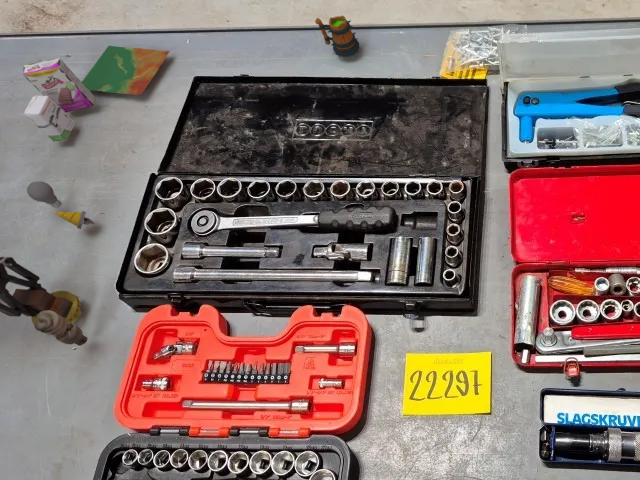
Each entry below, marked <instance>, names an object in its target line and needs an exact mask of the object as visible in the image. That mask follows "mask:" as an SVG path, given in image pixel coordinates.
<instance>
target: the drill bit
mask: <svg viewBox="0 0 640 480" xmlns="http://www.w3.org/2000/svg"><path fill="white" fill-rule="evenodd" d="M52 213H53V214H55V215H56V216H58V217H60V218H62V219H63V220H64V221H67V222H68V223H70V224H72V225H74V226H75V227H76V228H77V229H80V230H81V229H82V227H83V225H86V226H88V225H94V224H96V223H95V222H94V221H93V220H92V219H91V218H89V217H87V216H86V214H87V211H84V210H81V211H53V212H52Z"/></svg>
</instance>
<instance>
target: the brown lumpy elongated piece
mask: <svg viewBox="0 0 640 480" xmlns="http://www.w3.org/2000/svg"><path fill="white" fill-rule="evenodd" d="M36 319H37V321H36V322H35V325H33V327H34V329H35V330H36V331H38V332H41V333H43V334H46V335H47V336H52V337H55V340H56V341H58V342H60V343H62V344H65V345H77V346H80V347H81V346H83V345H84V344H86V343H87V342H88V337H87V336H86V335H84V332H83V329H82V328H80V327H79V326H78V325H77V324H75V323H73V322H72V323H67V321H66V320H65V319H64V318H63V317H61V316H60V315H59V314H57V313H56V312H54V311H50V310H46V311H42V312H40V313H39V314H38V315H37V317H36Z"/></svg>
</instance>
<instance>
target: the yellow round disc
mask: <svg viewBox="0 0 640 480" xmlns="http://www.w3.org/2000/svg"><path fill="white" fill-rule="evenodd" d="M49 293H50V294H52V295H54V296H55V297H63V298H65V299H67V300H69V301H70V302H72V303H73V304H72V307H71V309H70V311H69V313H68V315H67V317H66V318H64V317H63V318H64V319H65V320H66V321H67V323H73V324H75V323H76V322H77V321H78V320H79V318H80V317H81V315H82V310H81V300H80V298H79V297H78V296H77V295H76V294H74V293H72V292H71V291H67V290H56V291H54V292H49ZM30 320H31V323H32V324H33V326H34V325H35V322H36V321H37V319H36V317H35V316H34V317H30Z"/></svg>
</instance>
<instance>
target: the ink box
mask: <svg viewBox="0 0 640 480" xmlns="http://www.w3.org/2000/svg"><path fill="white" fill-rule="evenodd" d="M23 115H24V116H25V117H26V118H27V119H28V120H29V121H30V122H31V123H33V125H35V126H36V127H37V128H38V129H39V130H40V131H41V132H42V133H44V135H45V136H47V137H48V138H49V139H50V140H51V141H52V142H66V141H68V139H69V137H70V136H71V133H72V131H73V129H74V127H75V125H76V121H74V120H73V118H71V117H70V116H69V115H68V113H67V112H66V113H65V112H64V111H63V110H62V109H61V108H60V107H59V106H58V105H57V104H56V103H55V102H54V101H53V100H52V99H51V98H50V97H49V96H44V95H33V96H32V97H31V99H30V101H29V103H28V104H27V106H26V108H25V110H24V112H23Z"/></svg>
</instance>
